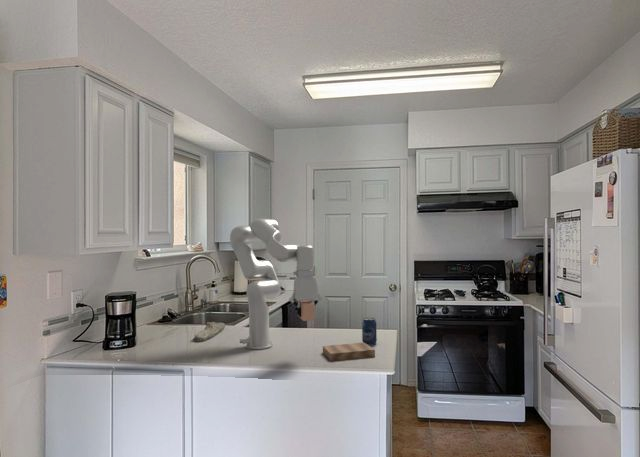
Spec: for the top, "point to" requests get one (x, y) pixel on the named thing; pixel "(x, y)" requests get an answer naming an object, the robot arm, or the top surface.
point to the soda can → (369, 331)
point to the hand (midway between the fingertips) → (305, 315)
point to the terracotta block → (307, 311)
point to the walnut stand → (348, 351)
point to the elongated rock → (209, 331)
